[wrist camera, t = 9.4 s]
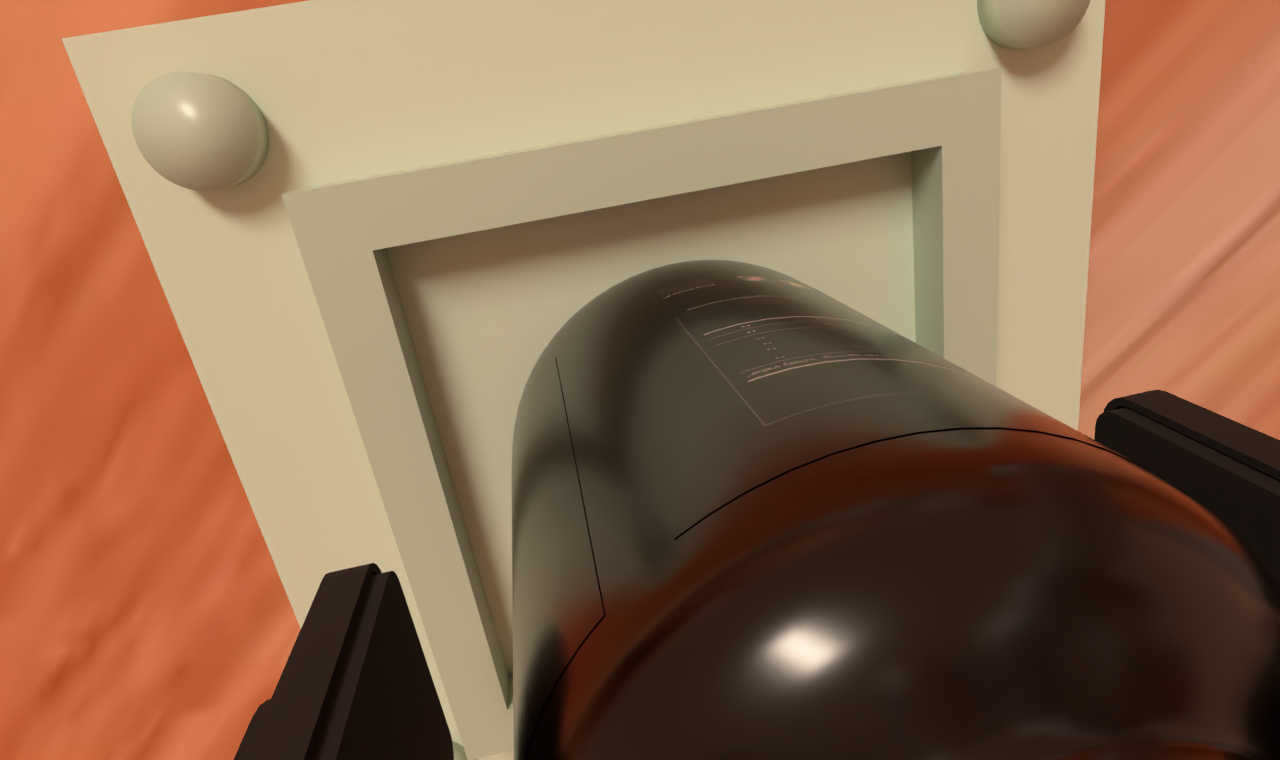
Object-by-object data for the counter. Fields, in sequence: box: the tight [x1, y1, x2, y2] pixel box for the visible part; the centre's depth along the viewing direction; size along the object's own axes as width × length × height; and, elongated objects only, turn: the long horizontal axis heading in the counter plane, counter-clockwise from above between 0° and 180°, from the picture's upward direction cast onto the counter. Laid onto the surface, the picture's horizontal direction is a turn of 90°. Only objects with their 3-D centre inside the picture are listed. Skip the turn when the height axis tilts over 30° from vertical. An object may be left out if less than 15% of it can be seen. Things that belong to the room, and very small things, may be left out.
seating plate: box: [62, 0, 1105, 760], centre depth 14 cm, size 16×16×2 cm
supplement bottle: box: [512, 260, 1280, 760], centre depth 8 cm, size 7×7×12 cm
